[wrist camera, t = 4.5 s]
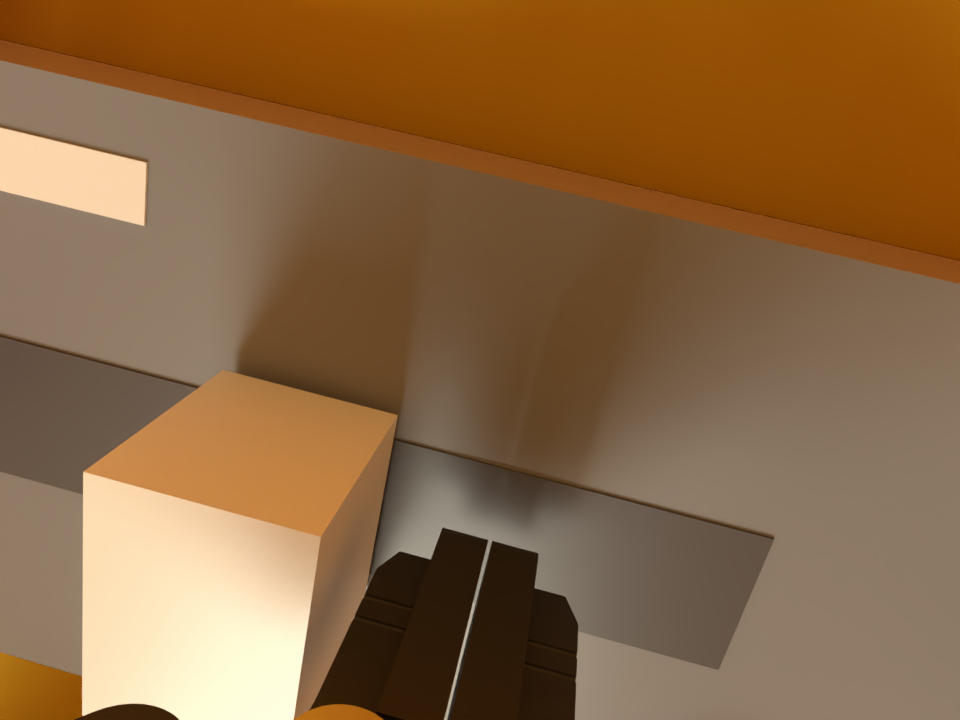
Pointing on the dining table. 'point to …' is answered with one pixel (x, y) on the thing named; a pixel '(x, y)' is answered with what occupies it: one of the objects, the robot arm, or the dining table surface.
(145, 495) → the switch
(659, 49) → the dining table surface
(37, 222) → the breaker panel
